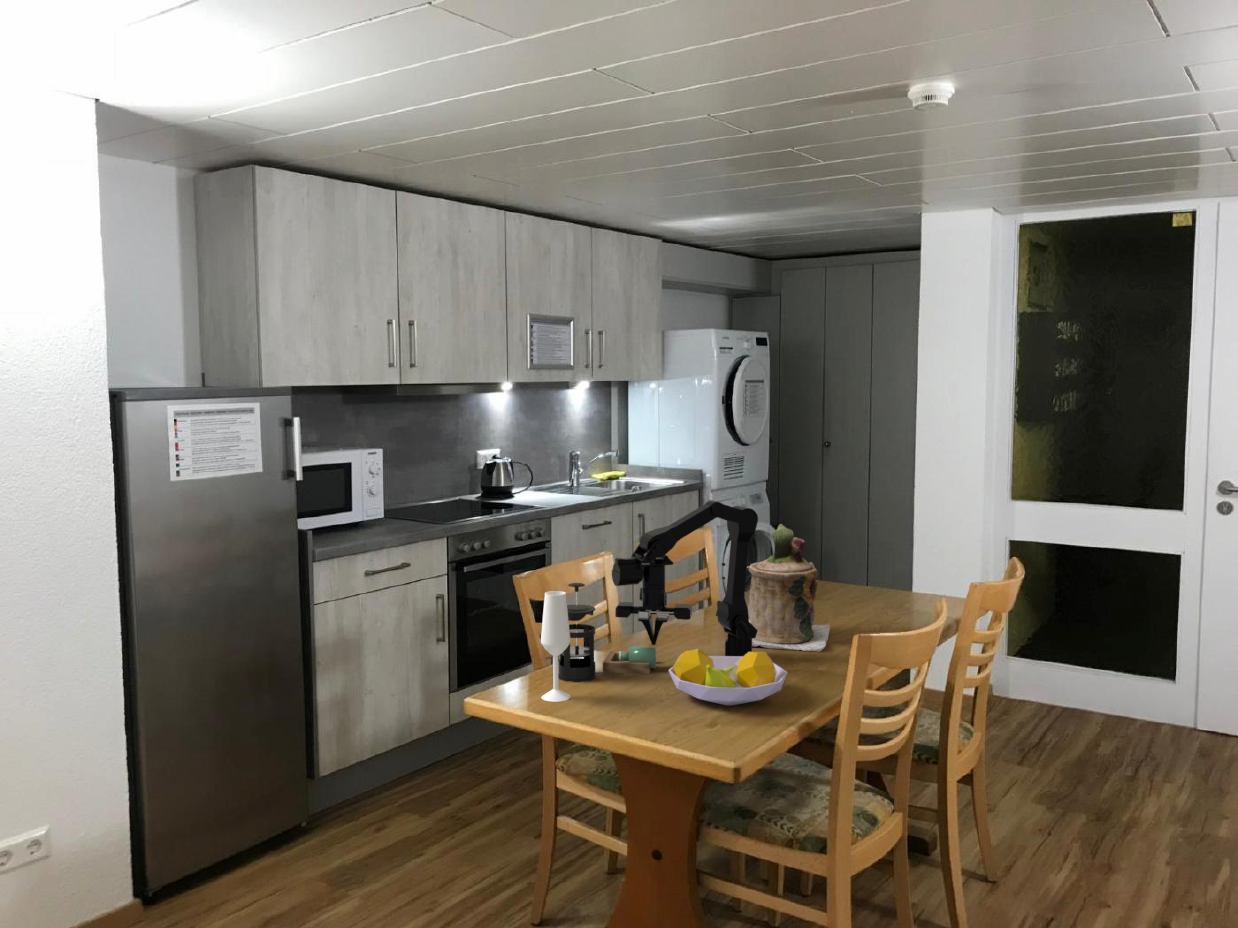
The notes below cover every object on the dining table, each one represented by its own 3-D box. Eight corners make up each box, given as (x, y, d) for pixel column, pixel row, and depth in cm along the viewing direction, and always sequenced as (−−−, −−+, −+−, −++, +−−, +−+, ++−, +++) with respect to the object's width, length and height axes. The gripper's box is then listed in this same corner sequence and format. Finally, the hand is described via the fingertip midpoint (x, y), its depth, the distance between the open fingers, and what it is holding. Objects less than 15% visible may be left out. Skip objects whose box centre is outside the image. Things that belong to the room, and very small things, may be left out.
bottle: (655, 642, 252) (620, 641, 253) (654, 656, 247) (617, 655, 248) (656, 658, 254) (621, 657, 256) (654, 672, 250) (619, 671, 251)
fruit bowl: (710, 672, 248) (710, 627, 247) (808, 694, 231) (808, 645, 230) (640, 700, 226) (640, 651, 226) (742, 725, 209) (742, 672, 208)
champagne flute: (537, 694, 231) (536, 591, 229) (565, 691, 233) (564, 589, 231) (546, 702, 224) (545, 597, 223) (574, 699, 227) (574, 594, 225)
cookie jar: (732, 647, 273) (733, 530, 270) (746, 626, 296) (746, 518, 294) (825, 653, 266) (826, 533, 264) (831, 631, 290) (832, 521, 287)
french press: (605, 674, 246) (605, 582, 245) (585, 684, 238) (584, 589, 237) (566, 668, 252) (565, 577, 251) (544, 677, 244) (543, 584, 243)
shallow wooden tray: (654, 661, 258) (654, 652, 258) (648, 673, 247) (648, 664, 247) (610, 660, 260) (610, 650, 259) (602, 671, 249) (602, 662, 249)
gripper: (693, 578, 257) (693, 637, 258) (621, 576, 260) (622, 635, 261) (690, 586, 246) (689, 649, 247) (614, 584, 249) (615, 646, 250)
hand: (653, 644), depth 252 cm, fingers closed
